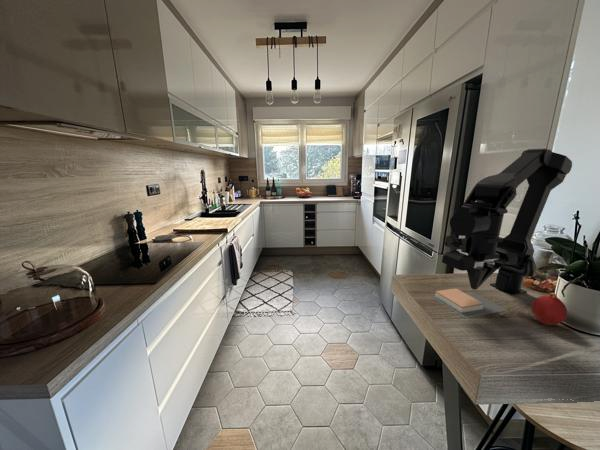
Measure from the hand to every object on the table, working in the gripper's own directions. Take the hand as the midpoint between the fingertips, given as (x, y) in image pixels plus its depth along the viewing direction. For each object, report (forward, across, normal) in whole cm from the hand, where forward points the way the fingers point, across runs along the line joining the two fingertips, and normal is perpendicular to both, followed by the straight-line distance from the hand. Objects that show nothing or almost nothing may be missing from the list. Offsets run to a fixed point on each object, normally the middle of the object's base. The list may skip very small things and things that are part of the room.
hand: (473, 288), depth 66 cm
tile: (+2, +1, 0) cm, 3 cm away
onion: (+4, -8, +12) cm, 15 cm away
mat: (+4, +2, +1) cm, 5 cm away
